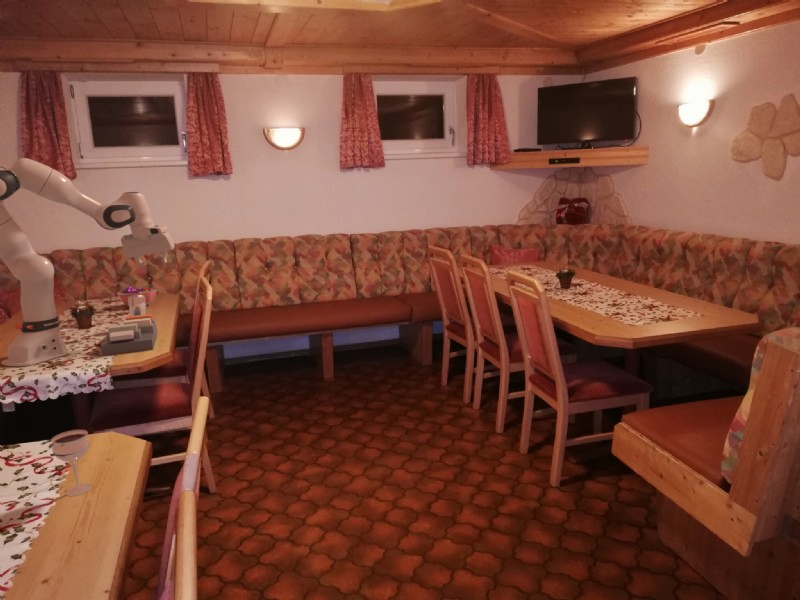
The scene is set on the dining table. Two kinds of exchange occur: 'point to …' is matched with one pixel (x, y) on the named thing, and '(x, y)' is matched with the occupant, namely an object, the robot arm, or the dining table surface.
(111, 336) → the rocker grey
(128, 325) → the bar sage
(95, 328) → the dining table surface
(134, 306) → the beer glass
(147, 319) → the bar ivory
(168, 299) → the dining table surface
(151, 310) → the dining table surface
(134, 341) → the panel
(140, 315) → the bar orange
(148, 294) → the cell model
